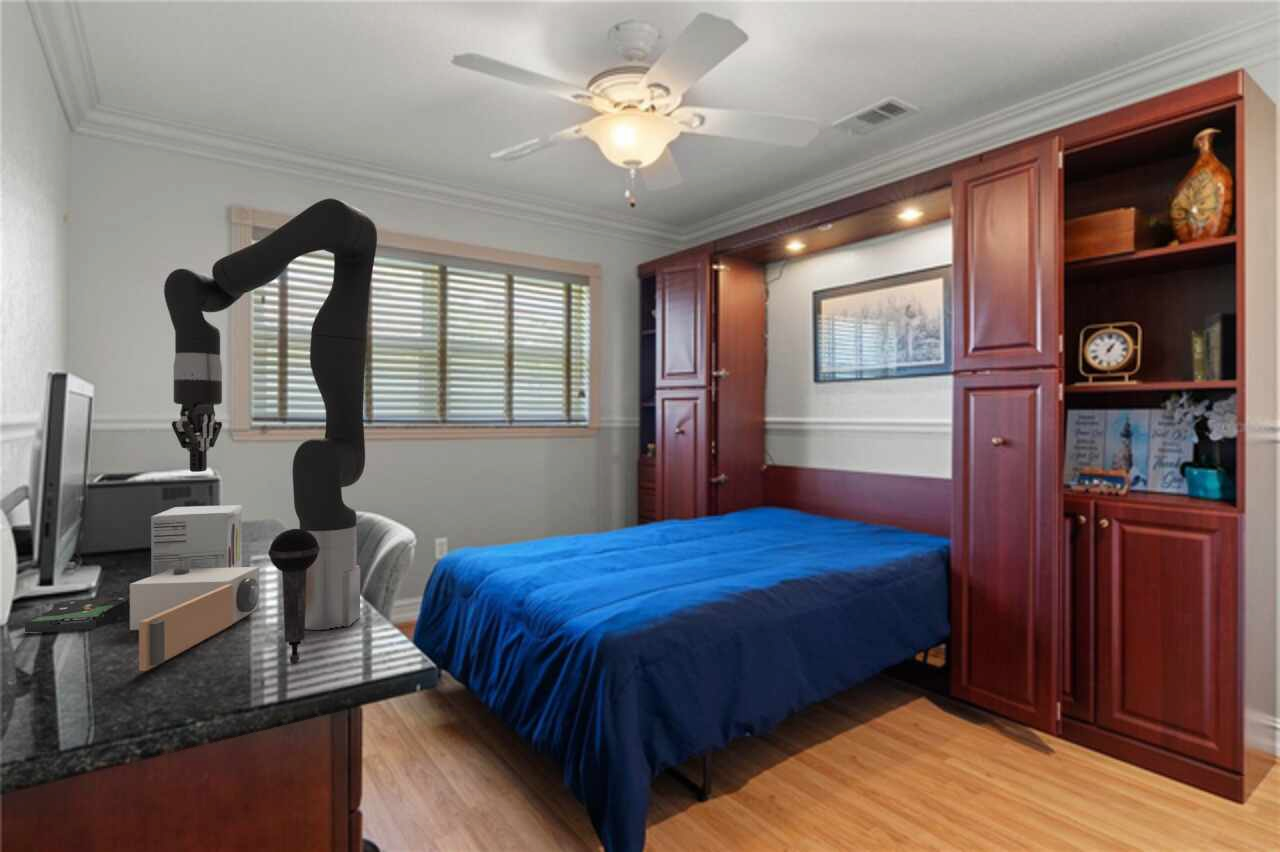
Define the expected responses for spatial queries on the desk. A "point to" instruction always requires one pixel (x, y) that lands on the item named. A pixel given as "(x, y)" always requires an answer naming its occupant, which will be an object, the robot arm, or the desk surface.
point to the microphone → (294, 579)
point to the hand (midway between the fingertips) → (198, 471)
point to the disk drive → (78, 615)
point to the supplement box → (196, 538)
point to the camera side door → (184, 626)
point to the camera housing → (192, 590)
